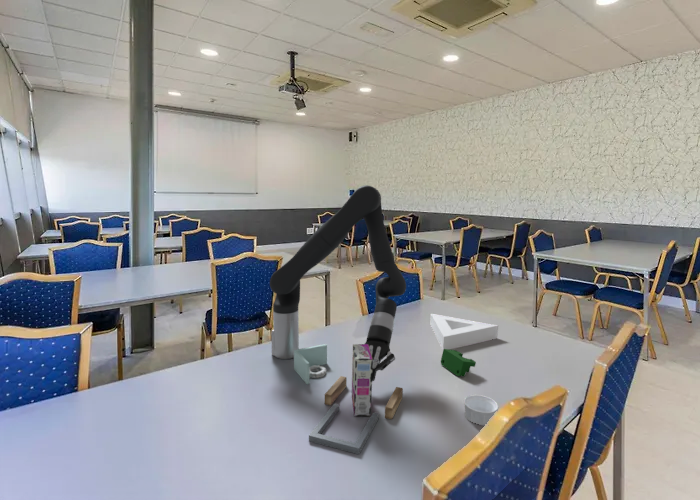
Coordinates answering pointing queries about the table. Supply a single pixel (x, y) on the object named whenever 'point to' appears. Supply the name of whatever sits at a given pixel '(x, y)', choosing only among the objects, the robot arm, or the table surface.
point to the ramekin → (479, 408)
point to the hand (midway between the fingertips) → (369, 381)
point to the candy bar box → (361, 379)
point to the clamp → (456, 362)
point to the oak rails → (341, 384)
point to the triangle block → (460, 331)
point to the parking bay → (338, 443)
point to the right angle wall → (310, 362)
